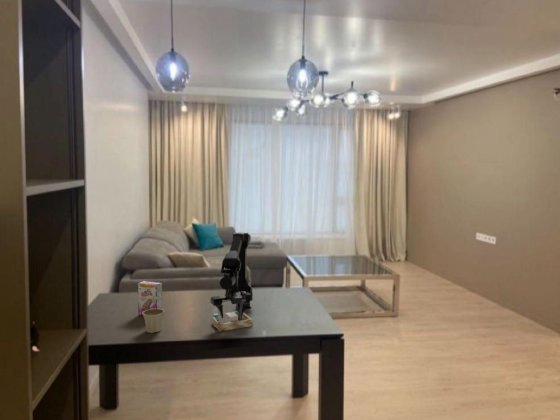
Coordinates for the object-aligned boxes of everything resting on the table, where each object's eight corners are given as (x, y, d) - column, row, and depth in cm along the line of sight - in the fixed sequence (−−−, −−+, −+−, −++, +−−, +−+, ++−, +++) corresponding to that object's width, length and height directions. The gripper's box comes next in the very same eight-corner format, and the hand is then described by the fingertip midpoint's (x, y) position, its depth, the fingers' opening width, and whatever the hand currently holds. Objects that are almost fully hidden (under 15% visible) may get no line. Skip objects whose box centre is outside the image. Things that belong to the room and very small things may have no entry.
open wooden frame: (244, 318, 208) (244, 312, 208) (252, 325, 198) (252, 319, 198) (212, 323, 201) (212, 317, 201) (219, 331, 192) (218, 324, 191)
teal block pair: (236, 316, 212) (236, 310, 211) (238, 317, 210) (238, 311, 210) (213, 320, 206) (213, 313, 206) (214, 321, 205) (214, 315, 204)
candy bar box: (137, 315, 213) (136, 283, 211) (144, 312, 217) (143, 280, 216) (157, 318, 209) (156, 285, 208) (163, 315, 214) (162, 282, 212)
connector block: (233, 322, 204) (233, 311, 203) (239, 327, 197) (239, 316, 197) (225, 323, 202) (225, 313, 201) (230, 328, 195) (230, 317, 195)
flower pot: (145, 327, 197) (144, 308, 196) (166, 326, 198) (166, 308, 197) (140, 334, 188) (140, 315, 187) (162, 334, 188) (162, 314, 188)
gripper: (217, 290, 187) (217, 325, 188) (257, 285, 195) (257, 319, 196) (209, 284, 197) (210, 317, 198) (248, 280, 205) (248, 312, 206)
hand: (231, 316), depth 200 cm, fingers open, 9 cm apart
